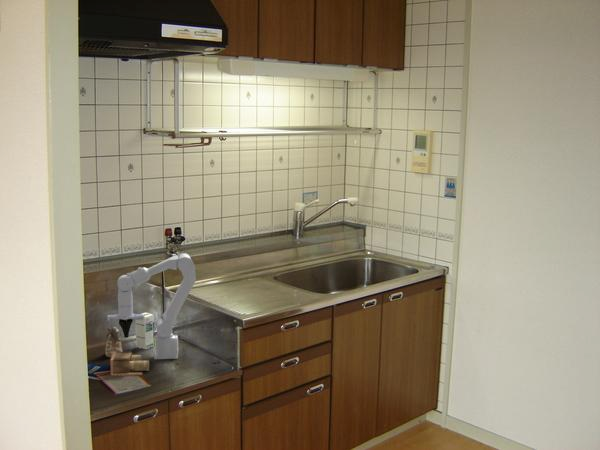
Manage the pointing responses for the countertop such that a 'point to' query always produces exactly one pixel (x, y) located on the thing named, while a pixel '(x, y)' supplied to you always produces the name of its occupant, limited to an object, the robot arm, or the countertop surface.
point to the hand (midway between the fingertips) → (126, 337)
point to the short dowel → (136, 357)
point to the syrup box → (145, 331)
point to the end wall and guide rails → (120, 373)
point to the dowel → (139, 365)
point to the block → (122, 362)
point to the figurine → (113, 342)
